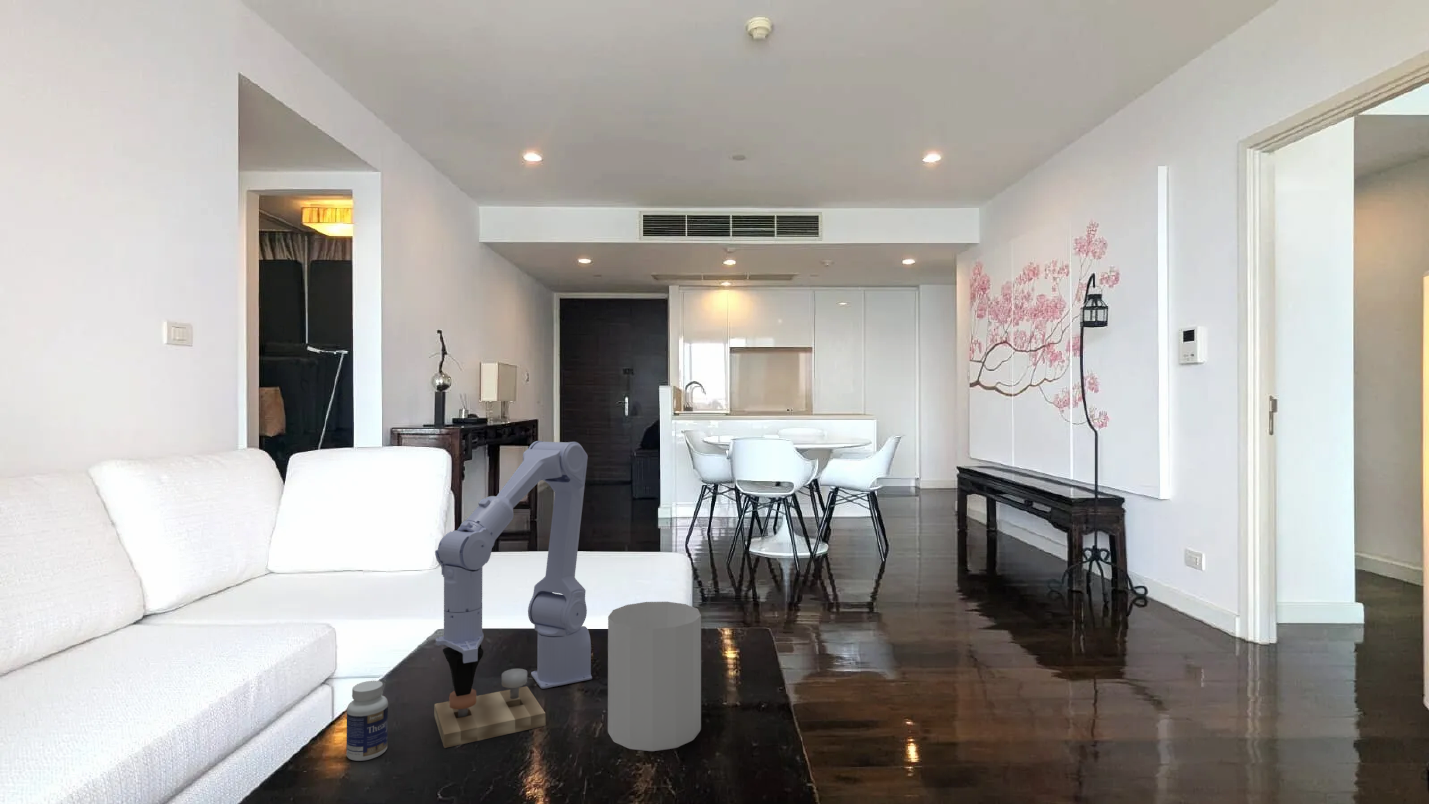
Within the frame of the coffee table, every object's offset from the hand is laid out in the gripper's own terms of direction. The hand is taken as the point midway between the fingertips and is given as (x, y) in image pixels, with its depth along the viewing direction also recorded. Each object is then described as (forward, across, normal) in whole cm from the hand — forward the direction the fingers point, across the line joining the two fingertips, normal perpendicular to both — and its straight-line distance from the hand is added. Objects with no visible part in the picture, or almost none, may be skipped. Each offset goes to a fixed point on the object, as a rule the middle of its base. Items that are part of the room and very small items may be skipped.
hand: (462, 693), depth 108 cm
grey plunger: (+2, 0, +8) cm, 8 cm away
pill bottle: (+5, +2, -14) cm, 15 cm away
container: (+6, +15, +26) cm, 31 cm away
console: (+5, 0, +4) cm, 6 cm away
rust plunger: (+4, 0, 0) cm, 4 cm away
